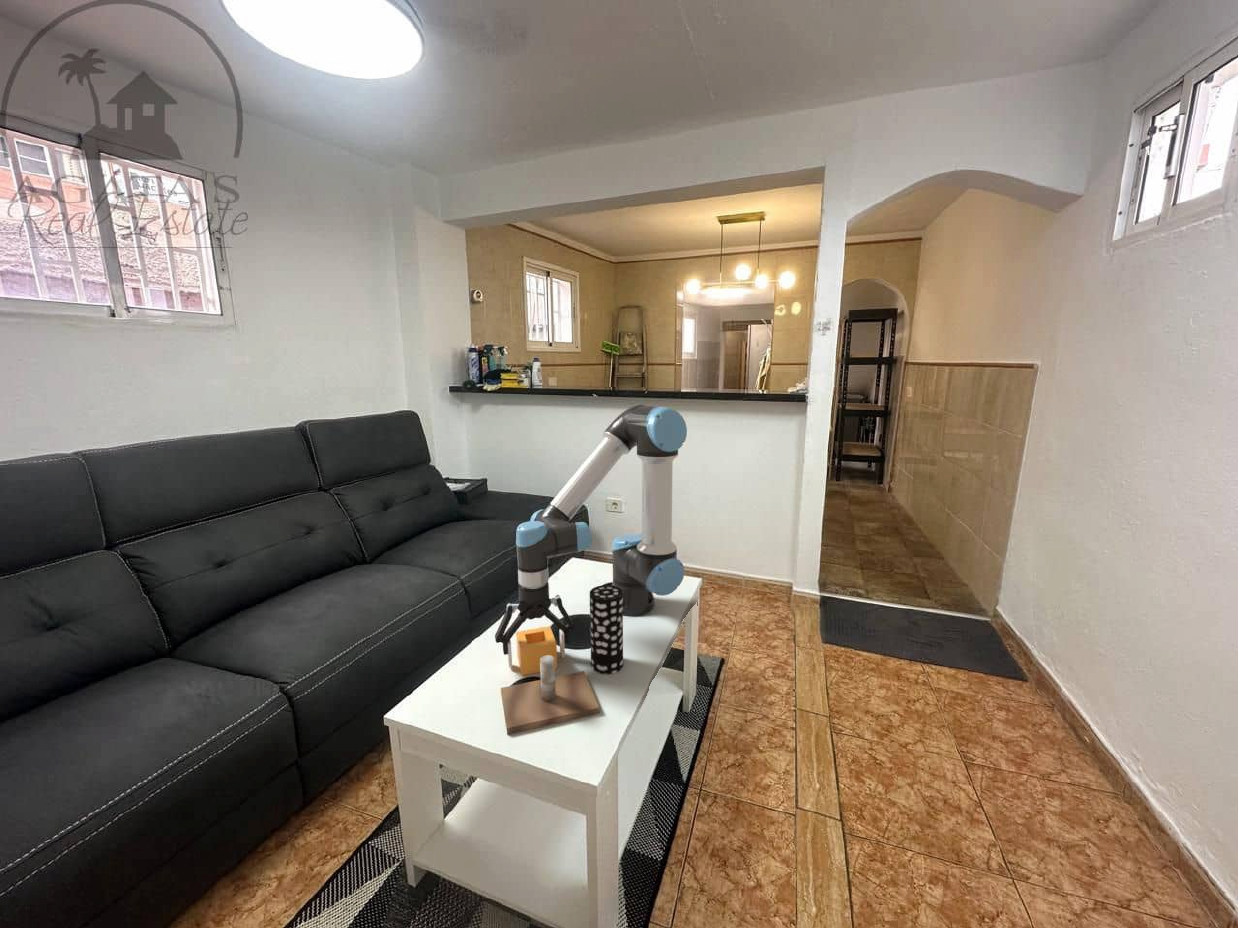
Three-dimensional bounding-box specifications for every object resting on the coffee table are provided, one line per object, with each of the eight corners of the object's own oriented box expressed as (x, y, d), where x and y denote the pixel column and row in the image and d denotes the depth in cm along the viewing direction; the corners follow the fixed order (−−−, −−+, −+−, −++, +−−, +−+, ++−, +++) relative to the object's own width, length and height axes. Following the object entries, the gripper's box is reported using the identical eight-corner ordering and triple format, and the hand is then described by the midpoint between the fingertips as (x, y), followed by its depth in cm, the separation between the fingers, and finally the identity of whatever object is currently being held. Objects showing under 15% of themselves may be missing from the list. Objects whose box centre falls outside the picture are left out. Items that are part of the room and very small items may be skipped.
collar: (550, 649, 133) (549, 626, 132) (557, 668, 124) (556, 643, 123) (517, 655, 130) (516, 631, 129) (521, 675, 122) (520, 649, 120)
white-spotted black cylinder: (599, 677, 120) (598, 602, 117) (585, 660, 128) (584, 589, 124) (628, 668, 124) (628, 595, 121) (614, 652, 131) (613, 582, 128)
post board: (583, 676, 121) (582, 635, 119) (599, 713, 108) (598, 668, 106) (501, 693, 115) (498, 650, 113) (507, 734, 102) (504, 687, 100)
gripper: (578, 570, 131) (579, 643, 134) (481, 583, 123) (486, 660, 127) (585, 581, 124) (586, 658, 127) (483, 596, 116) (488, 677, 120)
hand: (536, 659), depth 127 cm, fingers open, 13 cm apart
